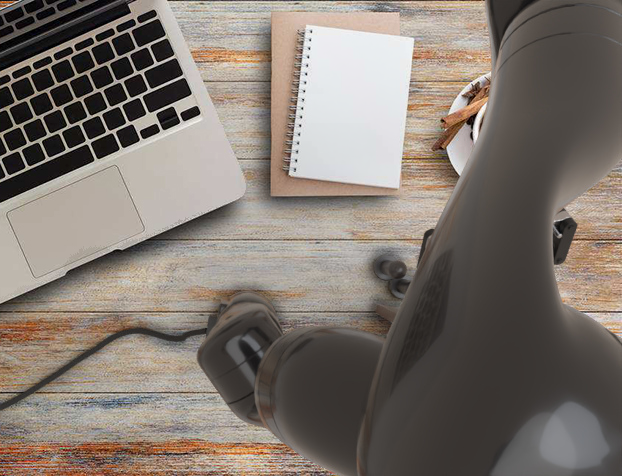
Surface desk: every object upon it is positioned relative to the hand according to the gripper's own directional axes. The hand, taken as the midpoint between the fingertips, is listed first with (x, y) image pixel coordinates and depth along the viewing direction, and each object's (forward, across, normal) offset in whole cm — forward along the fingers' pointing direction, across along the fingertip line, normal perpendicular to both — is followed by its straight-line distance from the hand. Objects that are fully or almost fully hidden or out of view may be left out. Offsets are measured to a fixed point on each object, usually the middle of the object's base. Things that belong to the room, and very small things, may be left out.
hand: (480, 294), depth 59 cm
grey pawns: (+20, -2, +20) cm, 29 cm away
